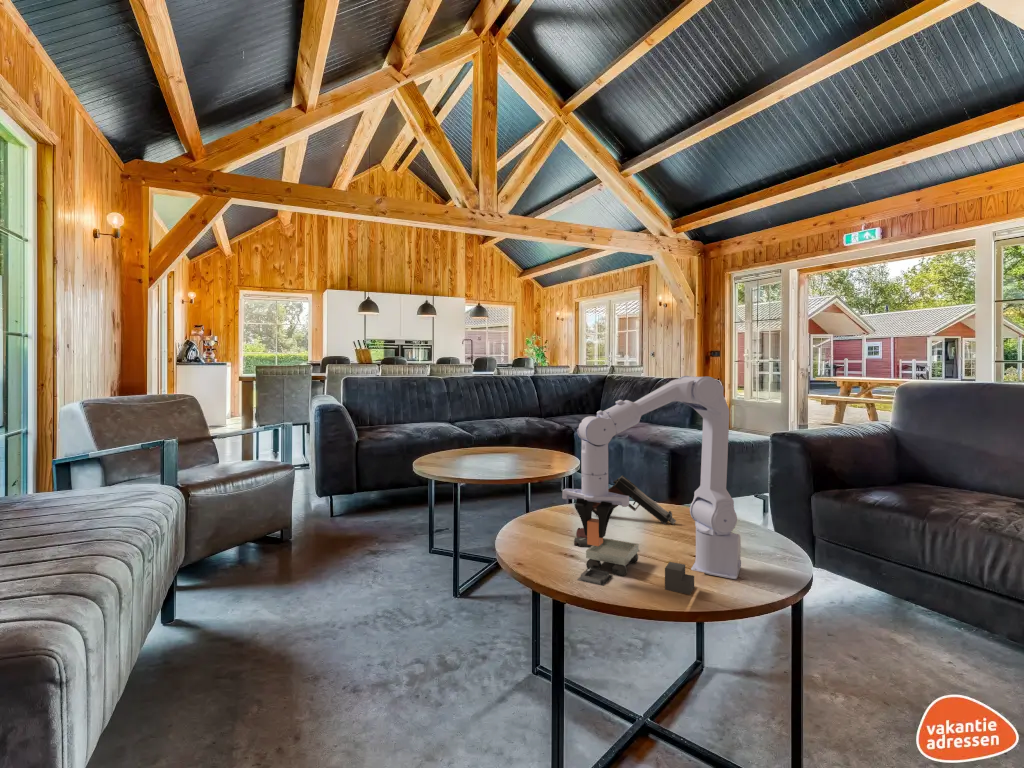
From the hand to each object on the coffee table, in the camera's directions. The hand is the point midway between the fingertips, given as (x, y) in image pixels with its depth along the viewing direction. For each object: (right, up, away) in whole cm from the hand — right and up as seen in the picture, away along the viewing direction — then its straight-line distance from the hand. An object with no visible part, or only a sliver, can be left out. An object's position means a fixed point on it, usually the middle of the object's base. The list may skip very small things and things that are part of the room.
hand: (595, 535), depth 111 cm
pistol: (+6, -10, +24) cm, 27 cm away
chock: (+16, -10, -5) cm, 20 cm away
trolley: (+5, -10, +7) cm, 13 cm away
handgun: (+18, -9, +44) cm, 48 cm away
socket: (0, -10, 0) cm, 10 cm away
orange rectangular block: (0, -2, 0) cm, 2 cm away
